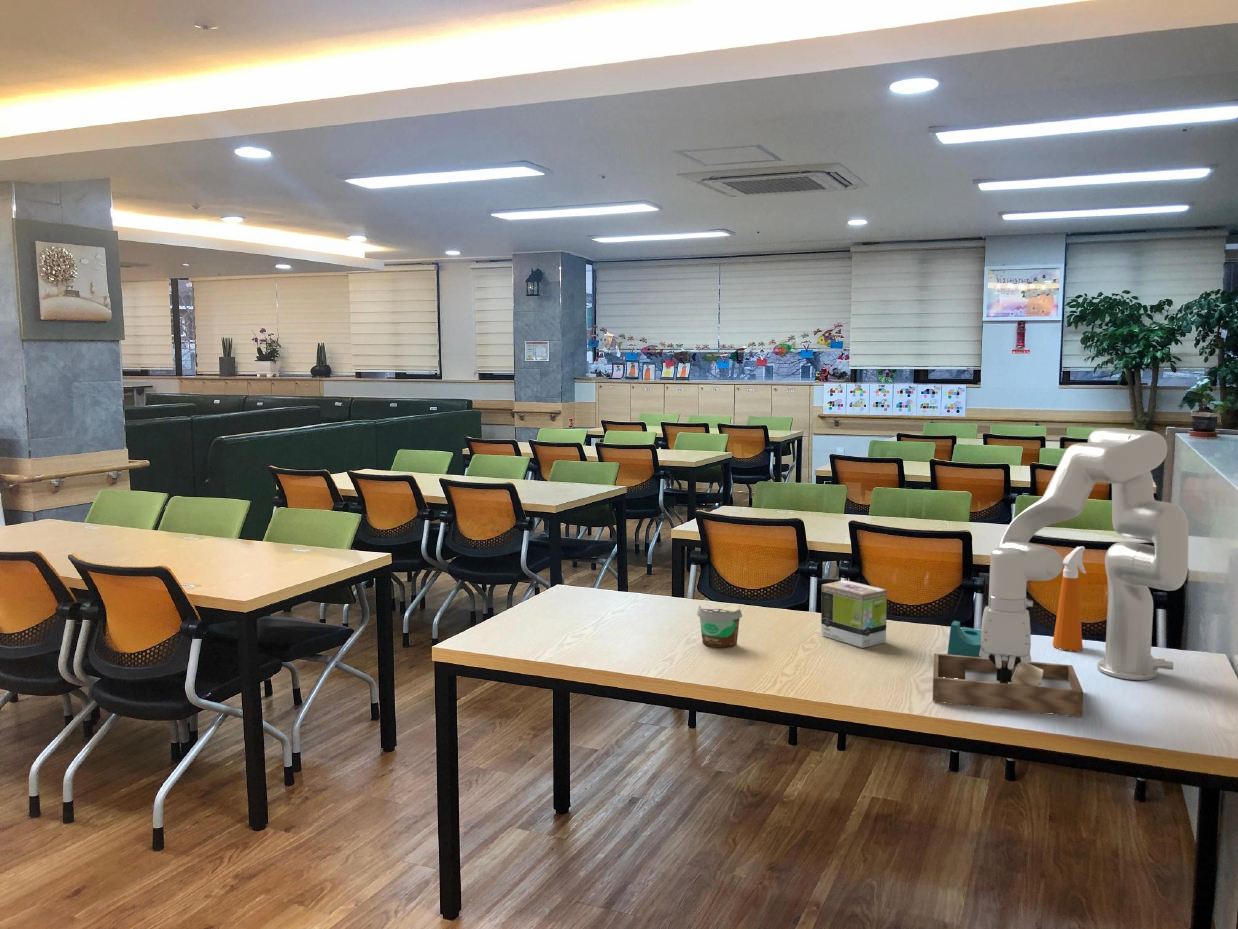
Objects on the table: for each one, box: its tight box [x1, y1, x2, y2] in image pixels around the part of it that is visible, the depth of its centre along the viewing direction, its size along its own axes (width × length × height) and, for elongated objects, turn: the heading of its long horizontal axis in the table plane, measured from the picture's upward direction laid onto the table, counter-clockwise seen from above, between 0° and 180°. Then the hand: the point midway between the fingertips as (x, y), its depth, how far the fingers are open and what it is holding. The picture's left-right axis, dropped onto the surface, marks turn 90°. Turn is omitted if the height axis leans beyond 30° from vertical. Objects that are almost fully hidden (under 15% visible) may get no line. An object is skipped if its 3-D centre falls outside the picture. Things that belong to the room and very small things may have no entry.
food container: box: [696, 605, 743, 650], centre depth 245 cm, size 12×6×10 cm, turn 68°
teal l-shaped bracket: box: [946, 620, 995, 657], centre depth 231 cm, size 18×11×10 cm, turn 149°
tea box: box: [820, 579, 888, 649], centre depth 249 cm, size 15×10×15 cm, turn 34°
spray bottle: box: [1052, 545, 1087, 652], centre depth 239 cm, size 7×11×26 cm, turn 125°
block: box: [1010, 662, 1043, 686], centre depth 201 cm, size 5×5×5 cm
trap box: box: [932, 652, 1084, 718], centre depth 207 cm, size 30×18×6 cm, turn 71°
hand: (1003, 684), depth 204 cm, fingers closed
